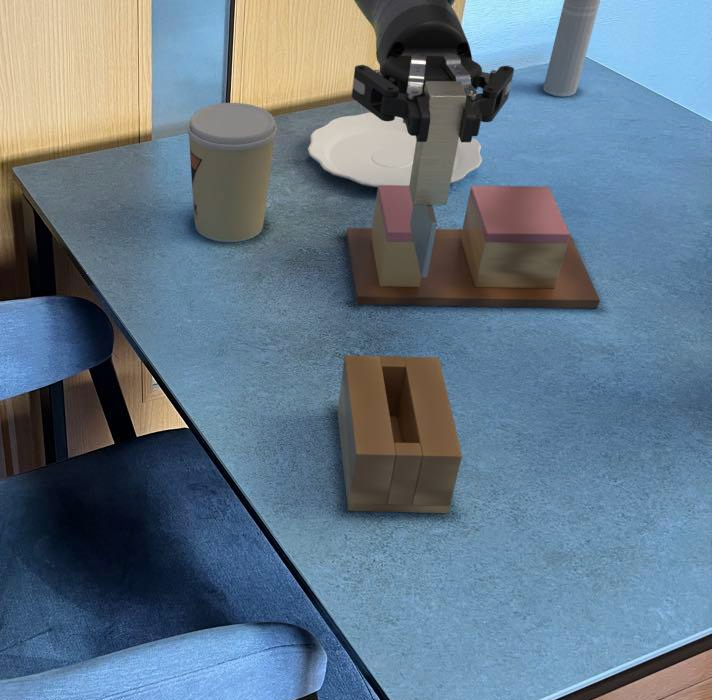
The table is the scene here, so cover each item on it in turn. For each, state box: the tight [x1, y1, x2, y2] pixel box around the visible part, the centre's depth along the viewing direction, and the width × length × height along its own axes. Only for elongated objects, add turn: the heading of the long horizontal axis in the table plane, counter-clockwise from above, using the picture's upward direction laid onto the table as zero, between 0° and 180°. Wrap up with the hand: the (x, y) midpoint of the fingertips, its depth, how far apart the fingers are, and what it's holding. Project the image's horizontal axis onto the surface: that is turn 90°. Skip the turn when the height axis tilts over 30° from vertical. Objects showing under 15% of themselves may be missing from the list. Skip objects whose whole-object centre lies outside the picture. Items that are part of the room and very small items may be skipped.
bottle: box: [543, 0, 601, 98], centre depth 134 cm, size 4×4×20 cm
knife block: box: [337, 355, 463, 514], centre depth 85 cm, size 8×13×6 cm, turn 177°
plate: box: [307, 111, 483, 188], centre depth 126 cm, size 21×21×2 cm
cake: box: [346, 185, 601, 309], centre depth 106 cm, size 24×14×7 cm, turn 87°
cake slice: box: [371, 185, 421, 287], centre depth 106 cm, size 4×10×6 cm, turn 177°
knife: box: [409, 81, 466, 278], centre depth 85 cm, size 3×9×14 cm, turn 177°
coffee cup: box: [187, 102, 278, 243], centre depth 112 cm, size 9×9×12 cm
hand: (446, 129), depth 80 cm, fingers closed on knife, 3 cm apart
